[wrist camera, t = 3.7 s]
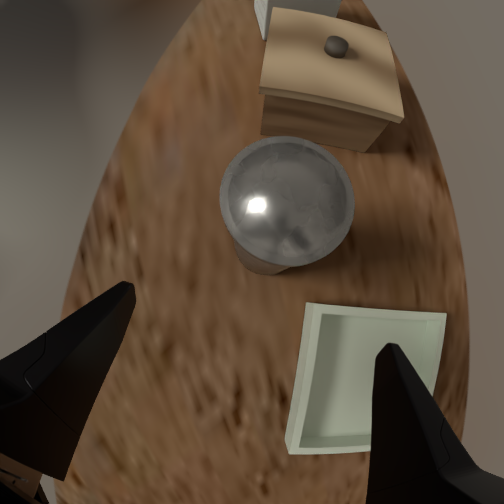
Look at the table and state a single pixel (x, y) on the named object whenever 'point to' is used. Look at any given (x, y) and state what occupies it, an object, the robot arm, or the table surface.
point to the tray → (352, 371)
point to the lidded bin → (328, 80)
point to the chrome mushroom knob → (285, 203)
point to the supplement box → (322, 3)
